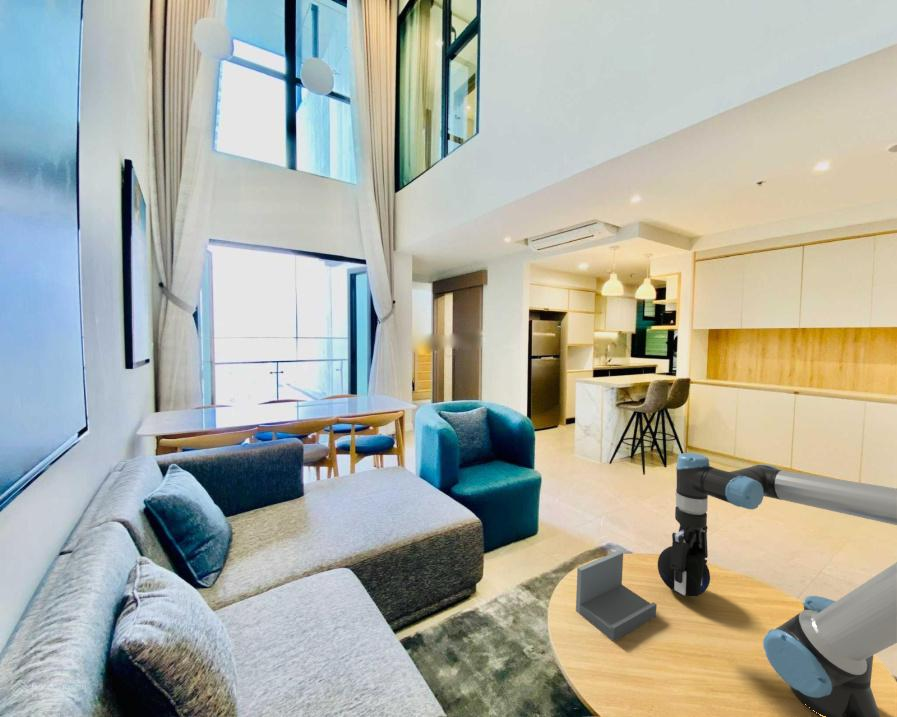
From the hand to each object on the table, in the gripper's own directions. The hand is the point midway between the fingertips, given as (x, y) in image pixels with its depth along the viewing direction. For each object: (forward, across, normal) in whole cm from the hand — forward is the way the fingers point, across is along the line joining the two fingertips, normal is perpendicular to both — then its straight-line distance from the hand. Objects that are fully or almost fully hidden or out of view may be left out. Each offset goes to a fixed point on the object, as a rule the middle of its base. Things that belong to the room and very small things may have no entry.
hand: (688, 587), depth 107 cm
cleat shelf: (+15, +10, -16) cm, 24 cm away
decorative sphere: (+15, -19, -12) cm, 27 cm away
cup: (+1, 0, 0) cm, 1 cm away
